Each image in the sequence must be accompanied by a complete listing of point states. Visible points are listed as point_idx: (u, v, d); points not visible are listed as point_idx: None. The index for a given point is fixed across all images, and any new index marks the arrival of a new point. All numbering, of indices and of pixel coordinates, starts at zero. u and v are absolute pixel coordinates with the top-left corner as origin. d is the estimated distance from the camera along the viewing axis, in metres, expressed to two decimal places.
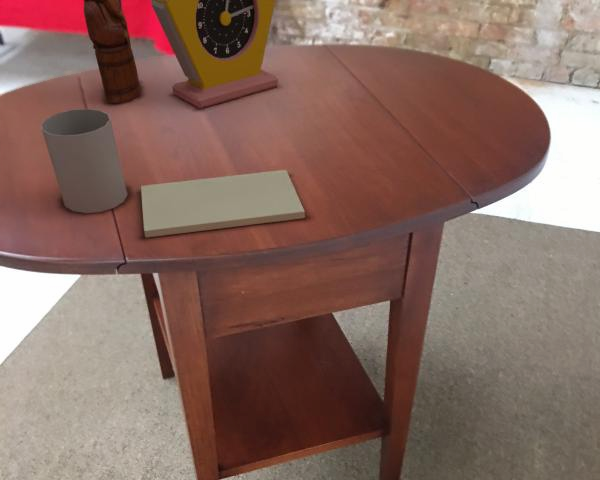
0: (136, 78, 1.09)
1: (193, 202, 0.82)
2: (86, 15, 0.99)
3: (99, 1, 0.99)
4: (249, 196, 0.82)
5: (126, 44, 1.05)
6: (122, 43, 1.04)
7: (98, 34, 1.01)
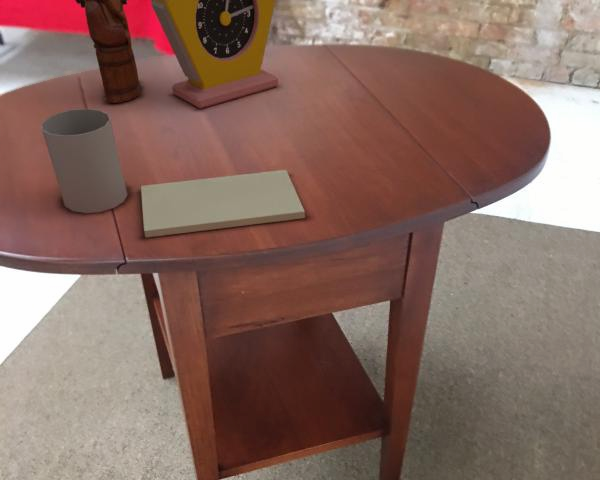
0: (136, 78, 1.09)
1: (193, 202, 0.82)
2: (87, 14, 0.99)
3: (101, 1, 0.99)
4: (249, 196, 0.82)
5: (127, 44, 1.05)
6: (123, 43, 1.04)
7: (99, 34, 1.01)
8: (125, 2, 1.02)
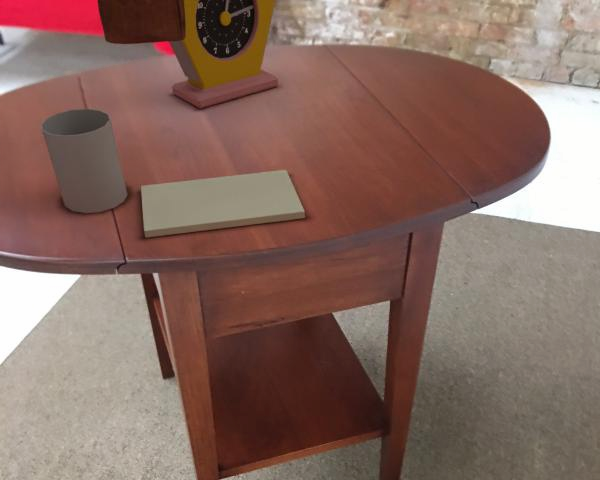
0: None
1: (193, 202, 0.82)
2: None
3: None
4: (249, 196, 0.82)
5: None
6: None
7: None
8: None
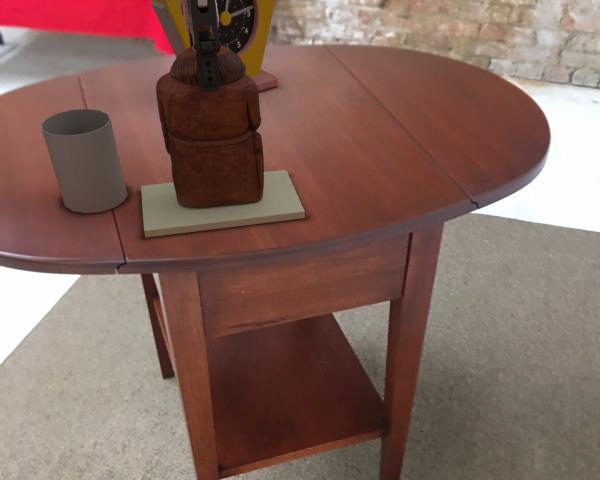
0: None
1: None
2: (256, 92, 0.72)
3: None
4: None
5: None
6: None
7: None
8: None
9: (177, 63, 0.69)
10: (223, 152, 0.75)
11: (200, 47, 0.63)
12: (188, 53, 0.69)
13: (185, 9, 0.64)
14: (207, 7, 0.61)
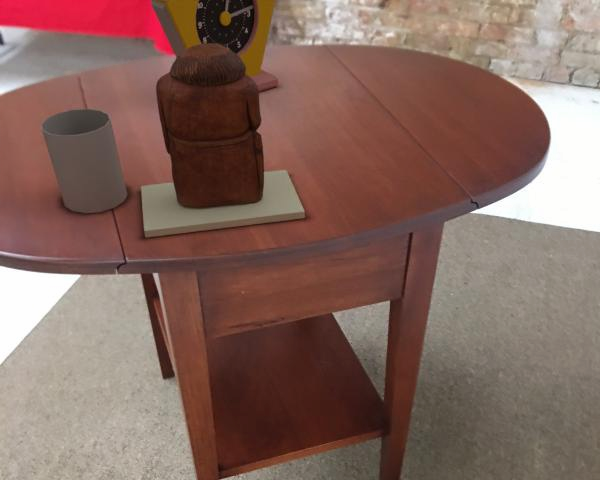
0: None
1: None
2: (256, 92, 0.72)
3: None
4: None
5: None
6: None
7: None
8: None
9: (177, 63, 0.69)
10: (223, 152, 0.75)
11: None
12: (188, 53, 0.69)
13: None
14: None
